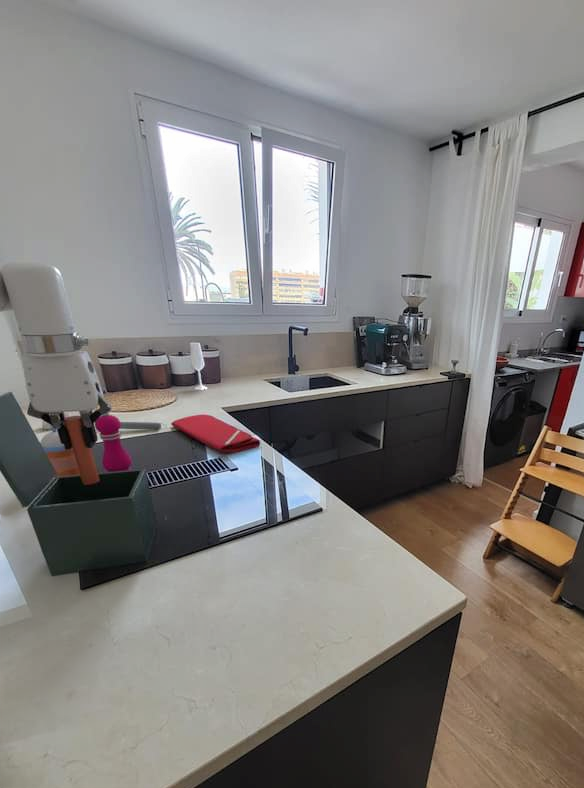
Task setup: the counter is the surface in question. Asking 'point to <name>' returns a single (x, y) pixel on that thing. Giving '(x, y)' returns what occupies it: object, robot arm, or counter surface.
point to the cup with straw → (59, 455)
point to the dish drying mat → (216, 433)
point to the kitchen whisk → (140, 425)
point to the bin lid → (22, 453)
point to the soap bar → (47, 425)
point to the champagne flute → (197, 362)
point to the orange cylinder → (81, 450)
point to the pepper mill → (112, 444)
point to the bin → (94, 521)
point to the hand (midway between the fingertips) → (81, 445)
